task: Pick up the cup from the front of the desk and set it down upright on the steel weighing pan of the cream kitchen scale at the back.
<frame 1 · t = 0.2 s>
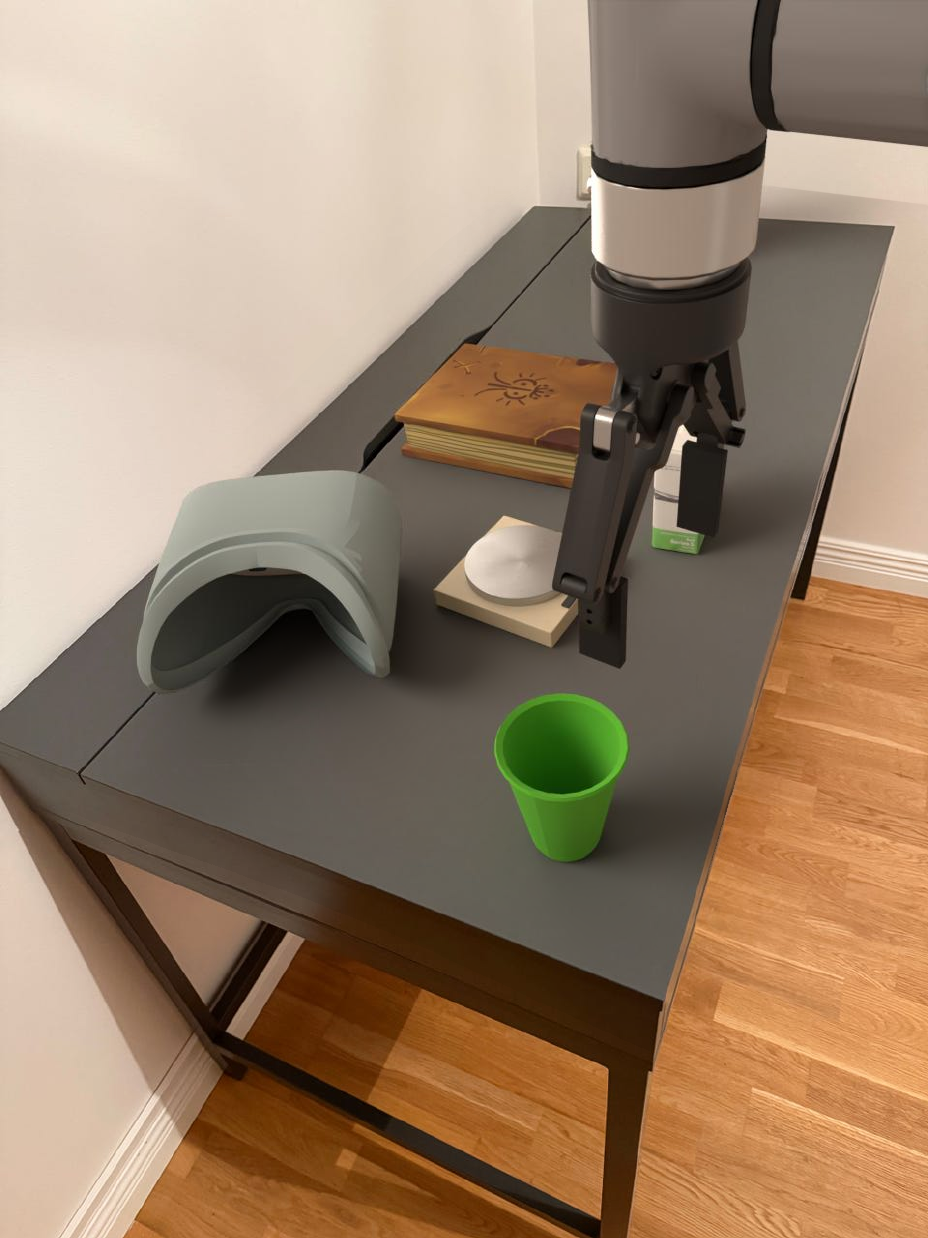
hand: (652, 589, 57), 20 cm above the table, tool pointing down, fingers open, 13 cm apart
grey arched shell: (294, 642, 86), on the table
lamp: (675, 260, 139), on the table
scale pan: (520, 564, 87), point 2 cm above the table, slide at -0.2 cm, touching scale
scale: (526, 584, 88), on the table
cup: (565, 835, 68), on the table
ink box: (684, 528, 92), on the table
diary: (521, 431, 109), on the table
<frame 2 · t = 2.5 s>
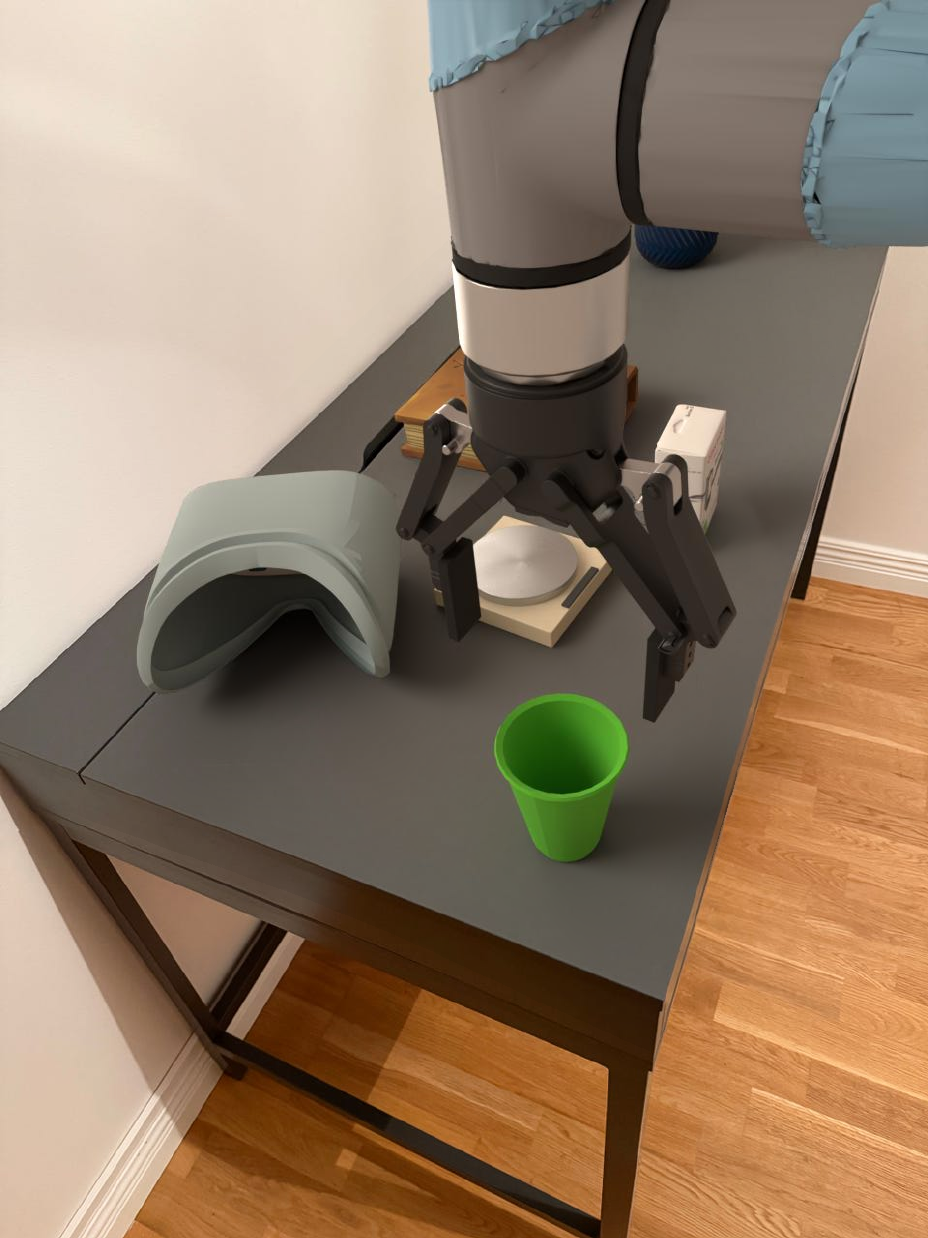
hand: (556, 664, 55), 18 cm above the table, tool pointing down, fingers open, 13 cm apart
nothing on the table moved.
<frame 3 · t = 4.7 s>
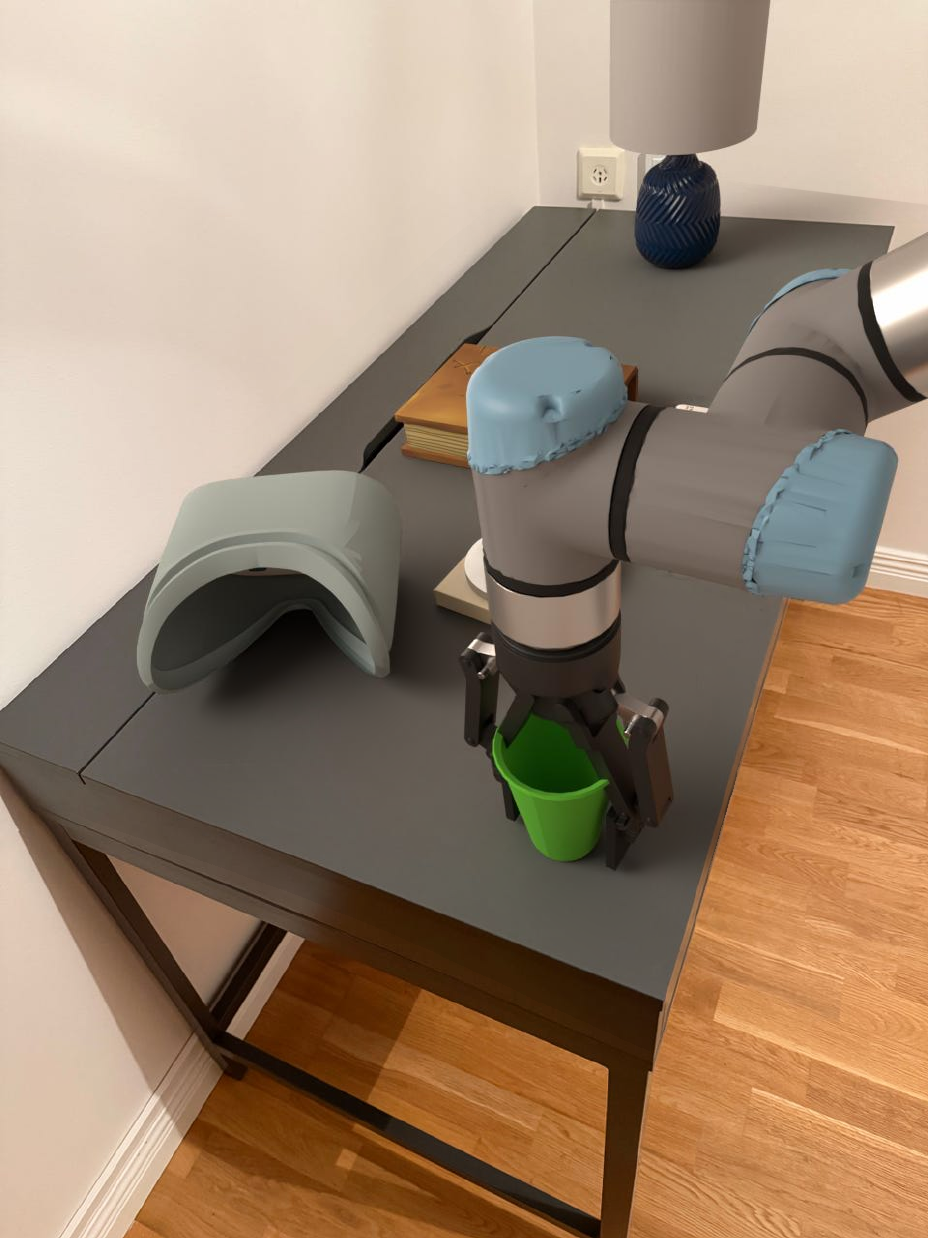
hand: (567, 829, 67), 1 cm above the table, tool pointing down, fingers closed on cup, 8 cm apart
cup: (564, 834, 68), on the table, touching gripper
everything else where it was.
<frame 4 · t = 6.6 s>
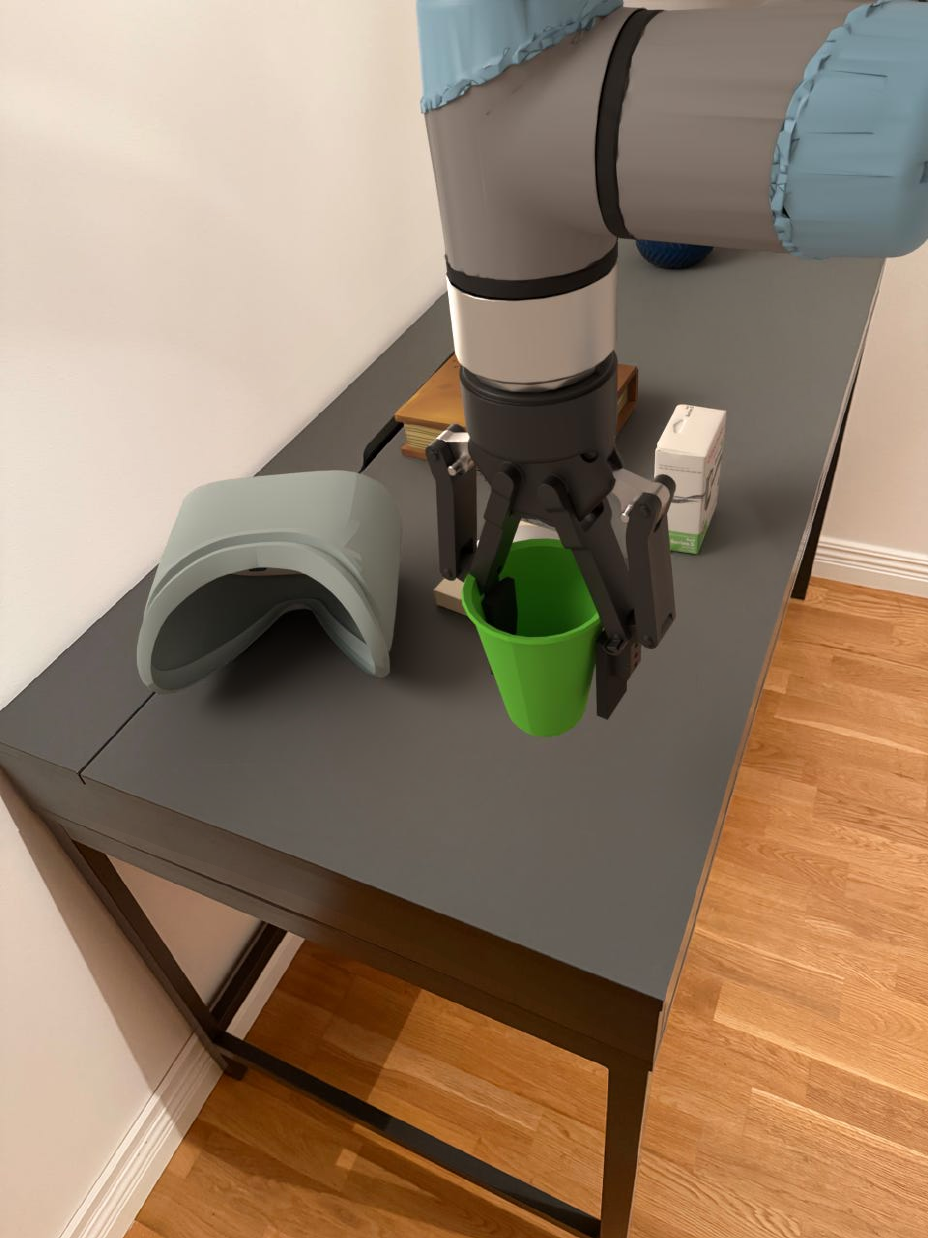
hand: (557, 681, 58), 16 cm above the table, tool pointing down, fingers closed on cup, 7 cm apart
cup: (546, 710, 60), point 13 cm above the table, touching gripper
everything else where it was.
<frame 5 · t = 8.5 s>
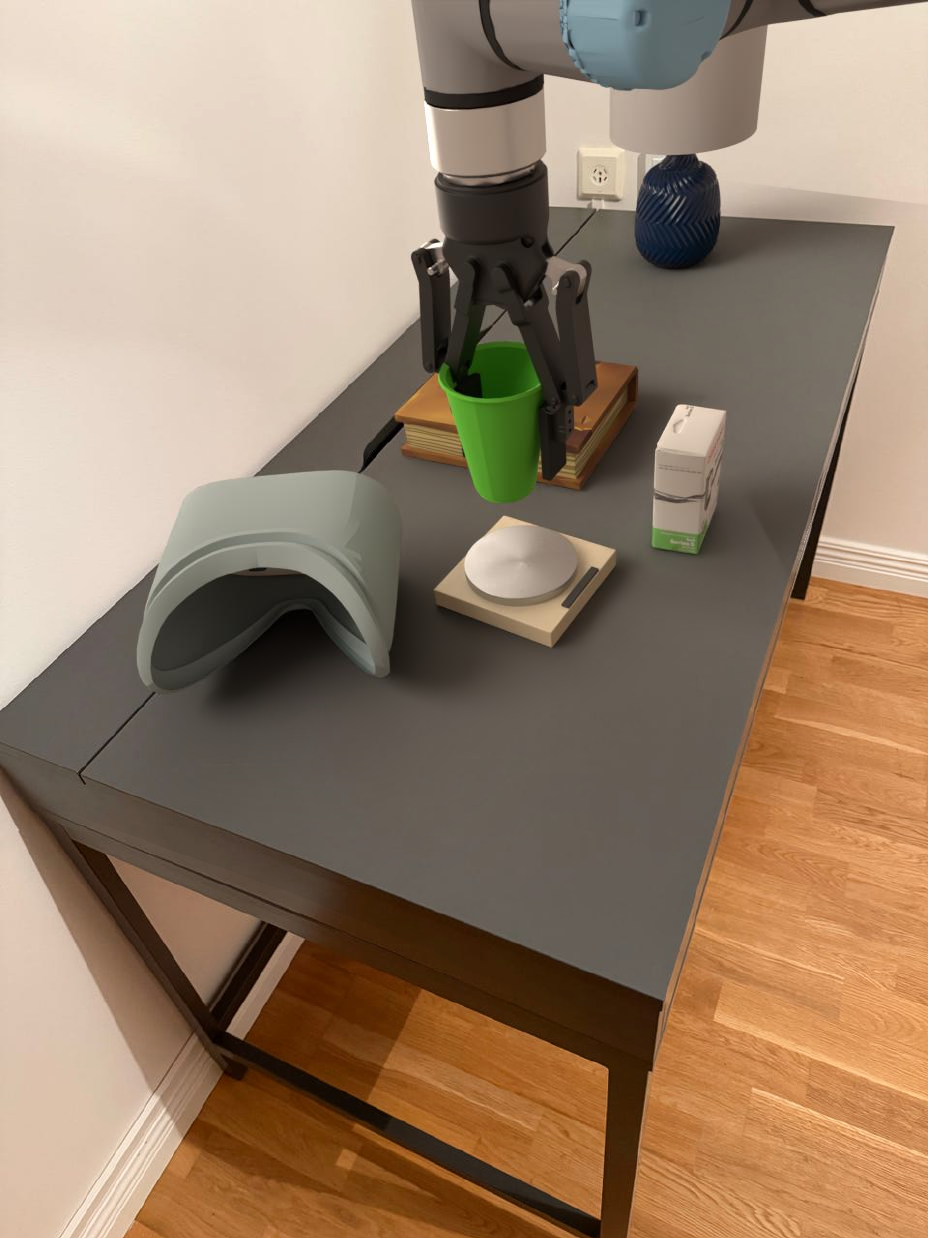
hand: (513, 459, 74), 17 cm above the table, tool pointing down, fingers closed on cup, 7 cm apart
cup: (505, 487, 76), point 14 cm above the table, touching gripper
everything else where it was.
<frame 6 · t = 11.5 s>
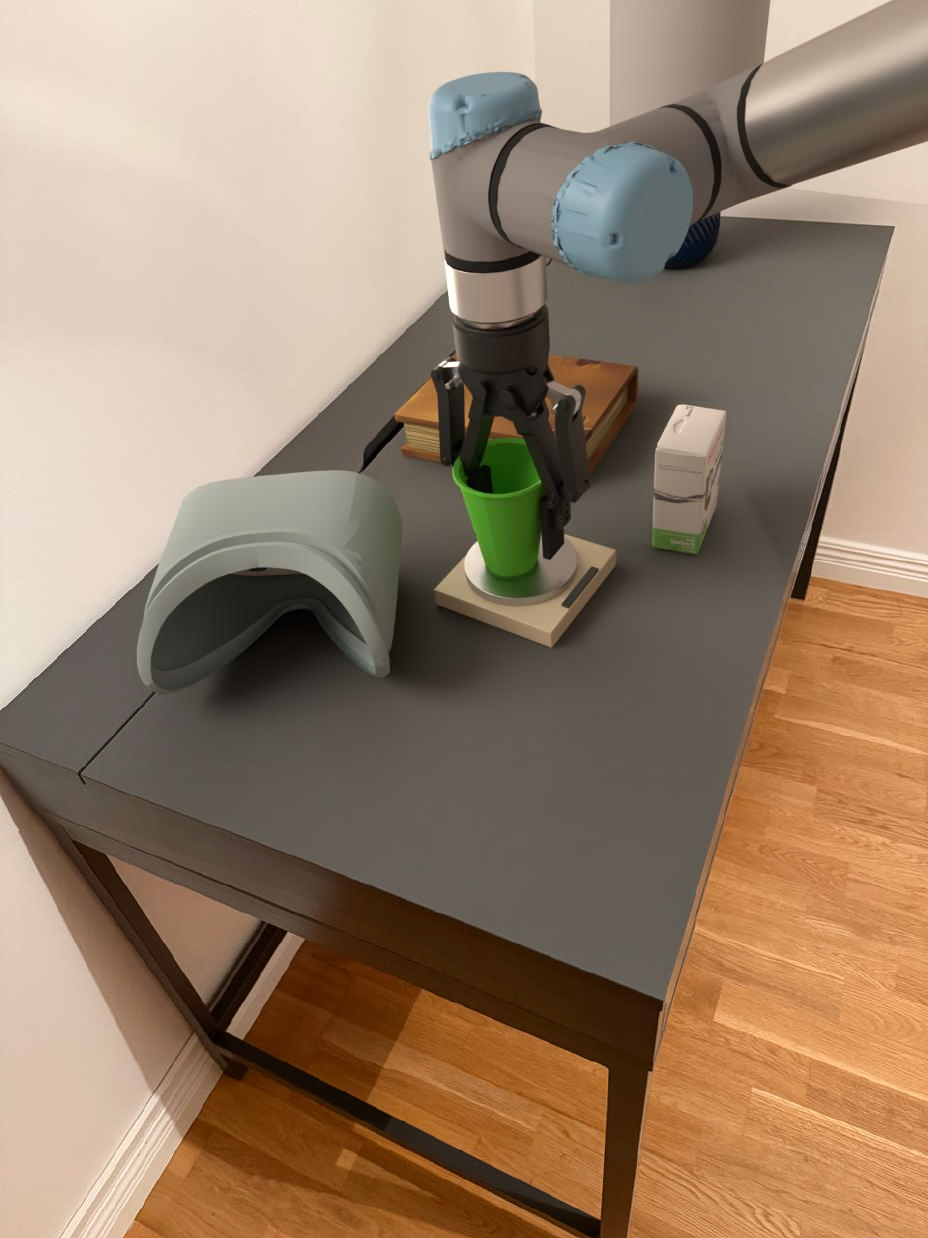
hand: (518, 539, 85), 6 cm above the table, tool pointing down, fingers closed on cup, 7 cm apart
scale pan: (520, 564, 87), point 2 cm above the table, slide at -0.2 cm, touching cup, scale
cup: (511, 561, 87), point 3 cm above the table, touching gripper, scale pan
everything else where it was.
when the fingers open (6 cm above the table, at t = 11.5 s): cup stays where it is, resting on scale pan.
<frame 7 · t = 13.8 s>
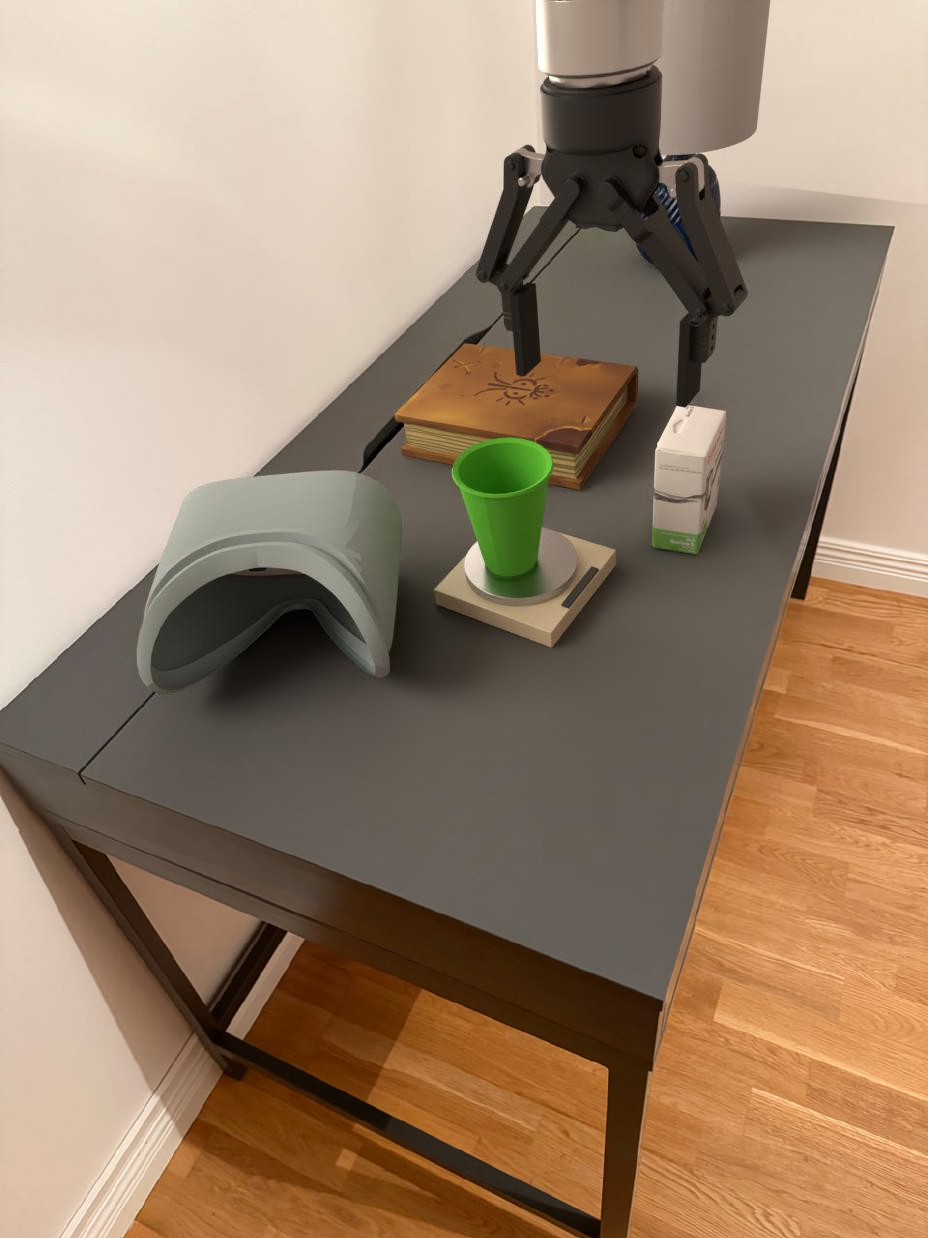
hand: (604, 382, 69), 23 cm above the table, tool pointing down, fingers open, 13 cm apart
cup: (511, 561, 87), point 3 cm above the table, touching scale pan
everything else where it was.
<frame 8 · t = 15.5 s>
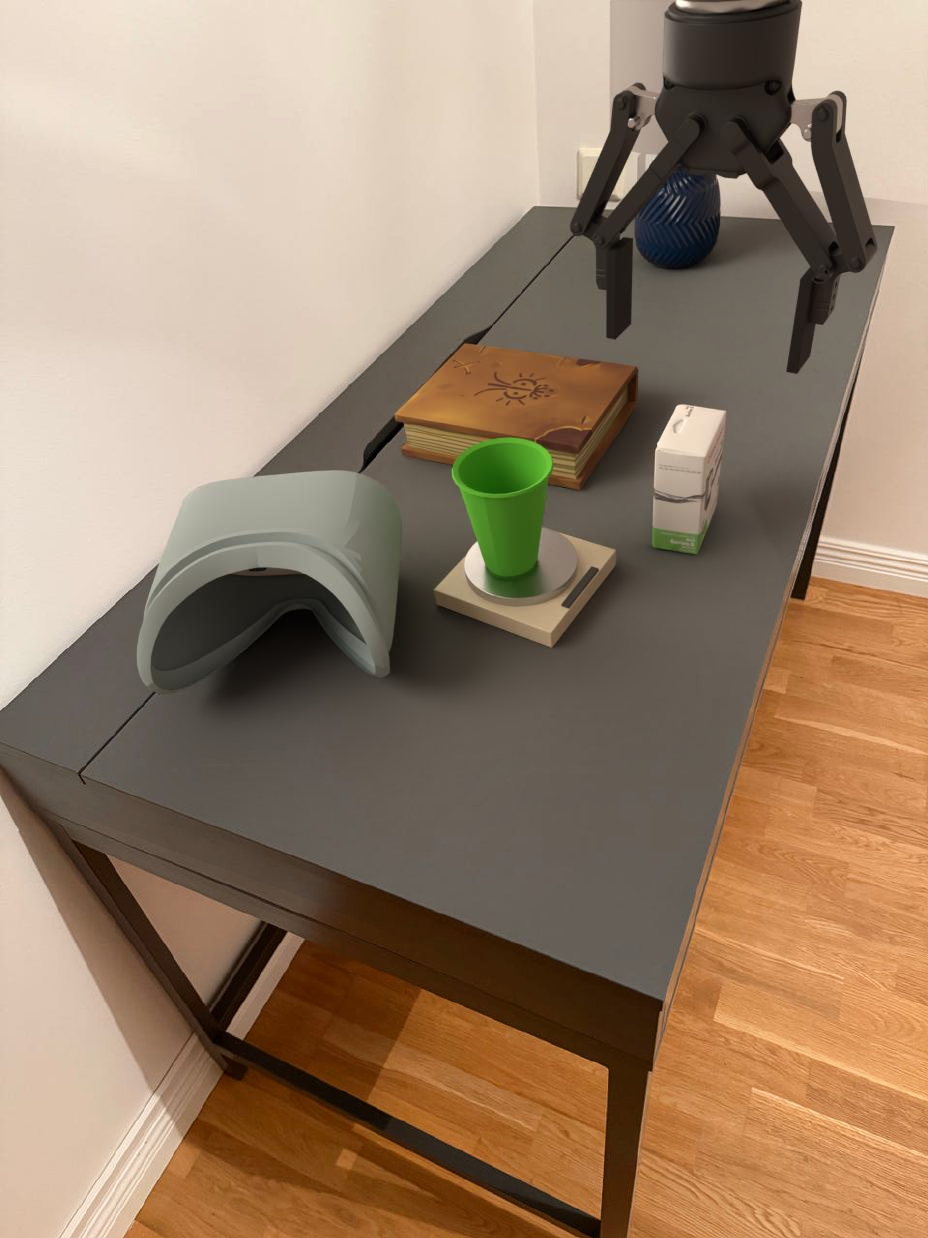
hand: (704, 347, 65), 27 cm above the table, tool pointing down, fingers open, 13 cm apart
nothing on the table moved.
at the end: cup 0.9 cm off-centre on the scale, point 2.8 cm above the scale's base; cup tilted 0°; the gripper is holding nothing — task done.
